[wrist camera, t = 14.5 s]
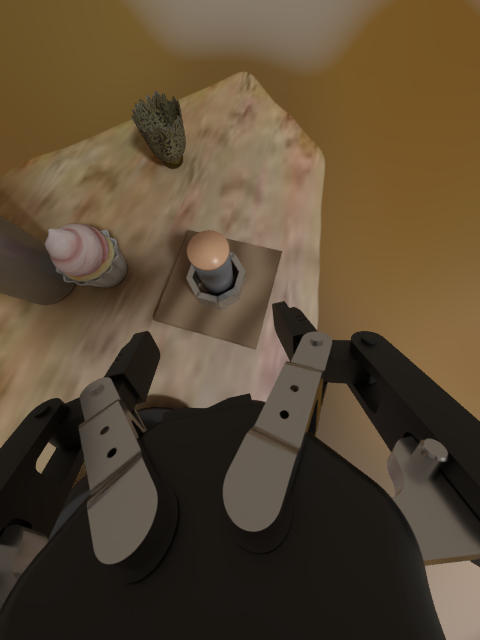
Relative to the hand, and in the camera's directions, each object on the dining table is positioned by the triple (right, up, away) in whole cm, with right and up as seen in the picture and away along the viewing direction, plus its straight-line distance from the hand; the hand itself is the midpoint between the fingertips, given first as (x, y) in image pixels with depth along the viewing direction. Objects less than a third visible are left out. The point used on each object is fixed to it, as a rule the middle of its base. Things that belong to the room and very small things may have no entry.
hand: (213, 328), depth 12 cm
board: (-1, +6, +18) cm, 19 cm away
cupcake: (-20, +9, +20) cm, 30 cm away
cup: (-11, +31, +25) cm, 41 cm away
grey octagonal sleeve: (-1, +6, +17) cm, 19 cm away
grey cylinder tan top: (-1, +6, +17) cm, 18 cm away
